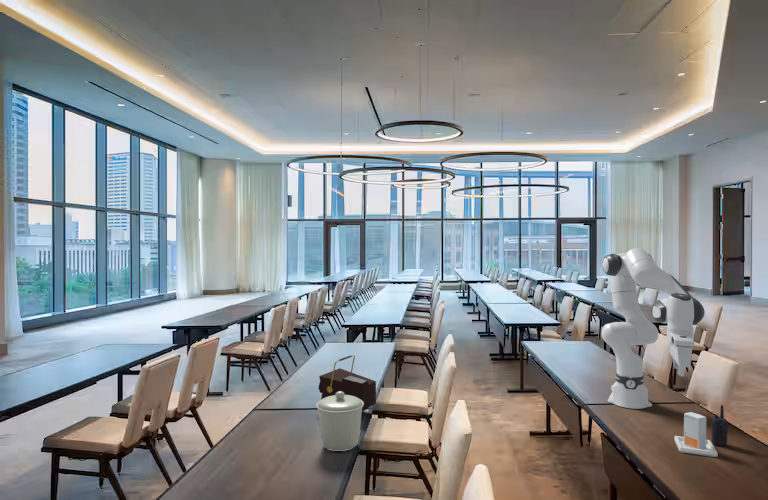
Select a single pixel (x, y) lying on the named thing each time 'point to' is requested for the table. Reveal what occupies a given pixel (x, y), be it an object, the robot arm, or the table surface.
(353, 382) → the brown box with handle
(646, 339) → the robot arm
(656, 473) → the table surface
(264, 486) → the table surface
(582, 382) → the table surface
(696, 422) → the skincare box
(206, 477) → the table surface
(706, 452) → the tray
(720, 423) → the two-way radio
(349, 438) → the canister
